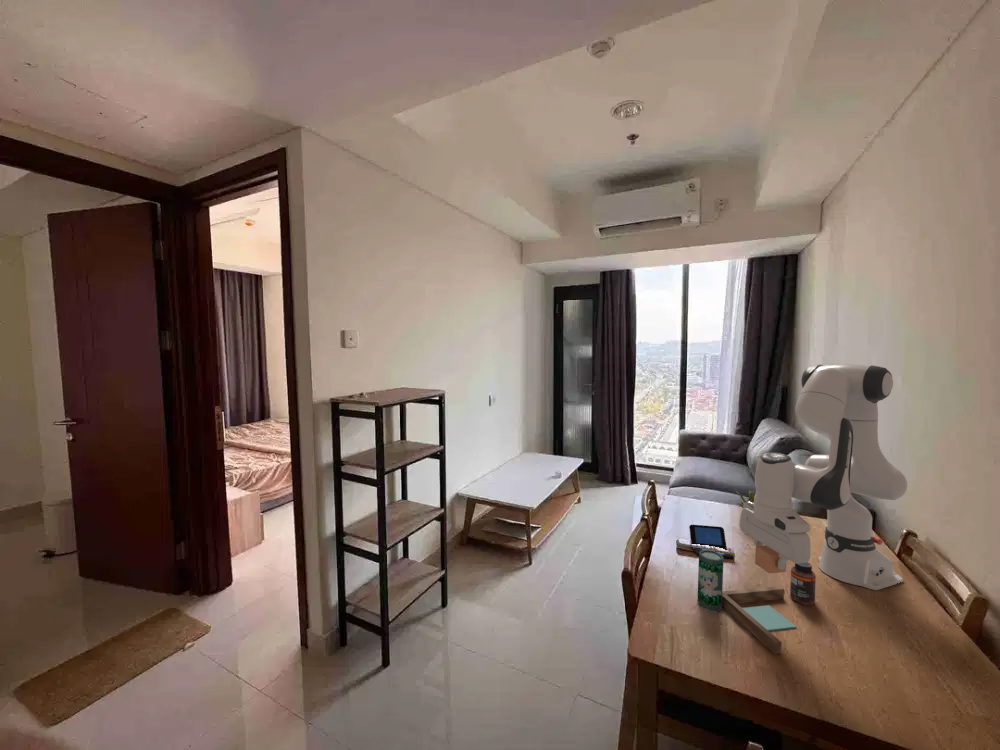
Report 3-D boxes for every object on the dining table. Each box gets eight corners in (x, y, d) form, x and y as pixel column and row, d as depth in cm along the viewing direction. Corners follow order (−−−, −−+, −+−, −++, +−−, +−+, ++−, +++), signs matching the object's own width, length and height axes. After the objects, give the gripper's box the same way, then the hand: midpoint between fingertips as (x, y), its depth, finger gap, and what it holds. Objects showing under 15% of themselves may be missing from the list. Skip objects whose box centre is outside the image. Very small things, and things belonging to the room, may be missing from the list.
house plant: (782, 537, 158) (784, 497, 157) (747, 537, 159) (749, 497, 158) (759, 522, 173) (761, 485, 172) (727, 521, 173) (729, 485, 172)
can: (695, 605, 116) (697, 555, 116) (700, 595, 121) (702, 547, 120) (718, 613, 113) (720, 562, 112) (723, 603, 117) (725, 554, 116)
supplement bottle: (809, 595, 121) (811, 560, 120) (818, 607, 115) (820, 570, 115) (786, 592, 123) (788, 556, 122) (793, 603, 117) (795, 566, 116)
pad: (769, 606, 116) (769, 605, 116) (796, 627, 107) (796, 626, 107) (741, 609, 114) (741, 608, 114) (766, 631, 106) (766, 629, 106)
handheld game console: (696, 556, 144) (697, 536, 144) (688, 542, 155) (688, 524, 154) (734, 559, 142) (735, 539, 142) (722, 545, 153) (723, 526, 152)
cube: (755, 563, 112) (755, 546, 112) (770, 562, 113) (771, 545, 112) (769, 573, 107) (770, 555, 107) (785, 571, 108) (786, 554, 107)
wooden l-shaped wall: (779, 595, 121) (780, 586, 121) (848, 645, 101) (848, 634, 100) (717, 601, 118) (718, 591, 118) (775, 654, 98) (776, 642, 97)
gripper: (734, 499, 119) (732, 544, 119) (794, 530, 98) (791, 583, 99) (753, 498, 119) (751, 542, 120) (816, 528, 99) (813, 581, 100)
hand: (770, 561), depth 110 cm, fingers closed on cube, 5 cm apart
